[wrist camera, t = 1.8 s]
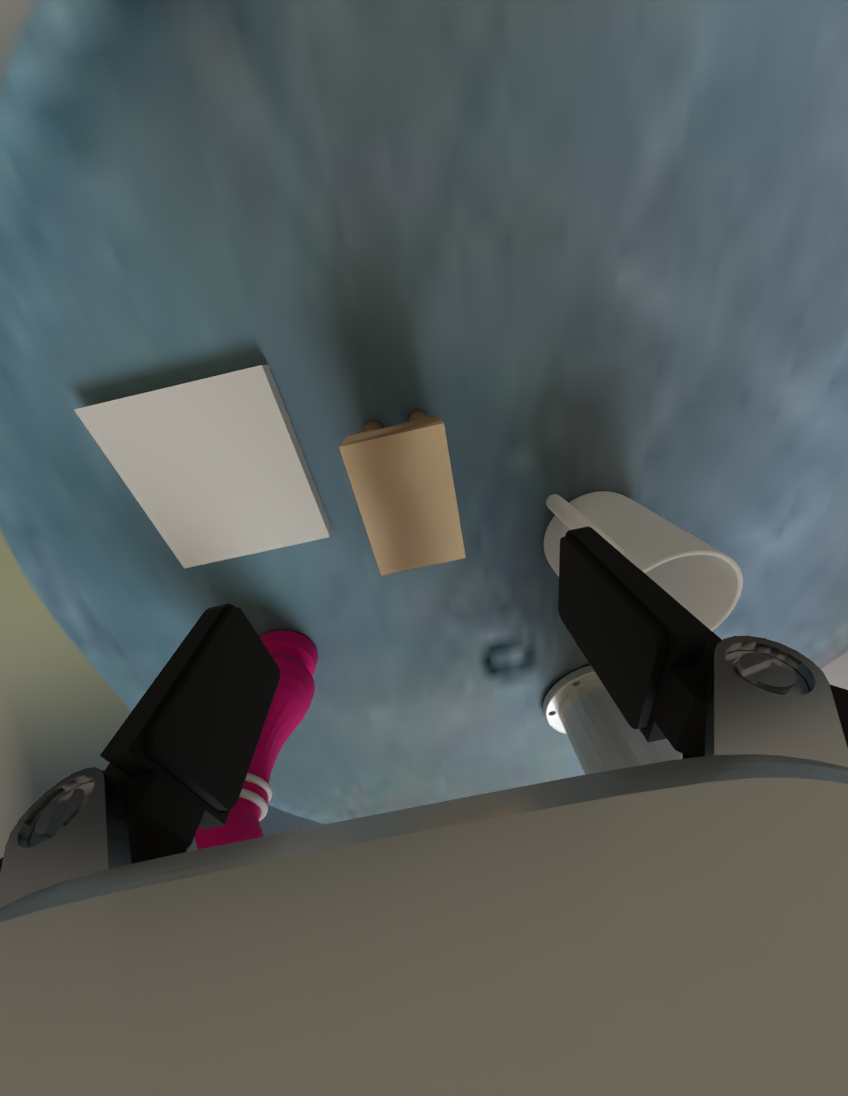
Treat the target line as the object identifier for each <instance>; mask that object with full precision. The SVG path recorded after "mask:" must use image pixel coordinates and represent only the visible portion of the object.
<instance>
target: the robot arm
mask: <svg viewBox="0 0 848 1096" xmlns="http://www.w3.org/2000/svg"><path fill="white" fill-rule="evenodd" d="M558 609H559V614H560V617H561V619H562V621H563V623H564V624H565V626H566V627H567V629H568V630H569V632H570V634H571V635H572V637H573V638H574V640H575V641H576V643H577V645H578V646H579V648H580V649H581V651H582V652H583V654H584V655H585V657H586V659H587V660H588V662H589V663H590V666H586V667H583V668H580V669H578V670H576V671H574V672H572V673H570V674H568V675H567V676H565V677H563V678H562V679H561V680H559V681H558V682H557V683H556V684H555V685H554V686H553V687H552V688H551V689H550V690H549V692H548V693H547V695H546V697H545V699H544V702H543V712H544V715H545V717H546V720H547V722H548V724H549V725H550V726H551V727H552V728H554V729H556V730H557V731H560V732H562V733H565V734H567V735H568V738H569V740H570V742H571V744H572V746H573V749H574V751H575V753H576V755H577V757H578V760H579V762H580V764H581V766H582V768H583V770H584V773H585V775H581V776H576V777H571V778H565V779H560V780H555V781H550V782H544V783H539V784H534V785H528V786H523V787H518V788H512V789H507V790H502V791H496V792H491V793H486V794H481V795H475V796H470V797H465V798H459V799H454V800H449V801H444V802H439V803H433V804H428V805H423V806H418V807H413V808H407V809H402V810H397V811H392V812H387V813H382V814H376V815H371V816H366V817H361V818H356V819H351V820H346V821H340V822H335V823H330V824H325V825H320V826H315V827H310V828H304V829H299V830H295V831H289V832H285V833H279V834H275V835H270V836H265V837H259V838H254V839H249V840H244V841H239V842H234V843H229V844H224V845H219V846H214V847H209V848H204V849H199V850H198V849H197V845H196V842H195V838H194V836H195V834H196V831H197V829H198V826H199V827H200V828H202V829H208V828H213V827H218V826H224V825H225V824H226V821H227V818H228V815H229V813H230V810H231V809H232V808H233V807H234V806H235V805H236V803H237V801H238V799H239V796H240V793H241V791H242V788H243V785H244V782H245V779H246V776H247V773H248V770H249V767H250V764H251V761H252V759H253V756H254V753H255V750H256V747H257V744H258V741H259V738H260V735H261V732H262V729H263V727H264V724H265V721H266V718H267V715H268V712H269V709H270V706H271V703H272V700H273V697H274V695H275V692H276V689H277V686H278V683H279V680H280V669H279V667H278V665H277V663H276V662H275V660H274V659H273V657H272V656H271V654H270V653H269V651H268V650H267V648H266V647H265V645H264V644H263V642H262V641H261V639H260V637H259V636H258V634H257V633H256V631H255V630H254V628H253V627H252V625H251V624H250V622H249V621H248V619H247V618H246V616H245V615H244V613H243V612H242V610H241V609H240V608H238V607H235V606H233V605H232V604H225V605H221V606H216V607H211V608H208V609H207V610H206V611H205V612H204V613H203V614H202V616H201V617H200V619H199V620H198V621H197V623H196V624H195V625H194V627H193V628H192V630H191V631H190V632H189V634H188V635H187V636H186V638H185V639H184V641H183V642H182V643H181V645H180V646H179V647H178V649H177V650H176V652H175V653H174V654H173V656H172V657H171V658H170V660H169V661H168V663H167V664H166V665H165V667H164V668H163V669H162V671H161V672H160V674H159V675H158V676H157V678H156V679H155V680H154V682H153V683H152V685H151V686H150V687H149V689H148V690H147V691H146V693H145V694H144V696H143V697H142V698H141V700H140V701H139V703H138V704H137V705H136V707H135V708H134V709H133V711H132V712H131V714H130V715H129V716H128V718H127V719H126V720H125V722H124V723H123V725H122V726H121V727H120V729H119V730H118V731H117V733H116V734H115V736H114V737H113V738H112V740H111V741H110V742H109V744H108V745H107V747H106V748H105V750H104V751H103V752H102V754H101V755H100V756H101V757H103V758H105V759H106V760H107V761H109V762H110V764H109V765H108V767H107V768H106V769H105V771H103V770H101V769H99V768H97V767H90V768H84V769H82V770H80V771H77V772H74V773H72V774H71V775H69V776H67V777H66V778H64V779H62V780H61V781H59V782H58V783H56V784H55V785H54V786H53V787H51V788H50V789H49V790H47V791H46V792H45V793H44V794H43V795H42V796H41V797H40V798H38V800H36V801H35V802H34V803H33V804H32V805H31V806H30V807H29V809H28V810H27V811H26V812H25V813H24V815H23V816H22V817H21V818H20V819H19V821H18V822H17V824H16V825H15V827H14V828H13V830H12V832H11V833H10V836H9V838H8V841H7V844H6V847H5V852H4V857H3V858H1V859H0V1096H848V690H846V689H842V688H839V687H836V686H833V685H830V684H829V682H828V680H827V678H826V676H825V675H824V673H823V671H822V670H821V669H820V668H819V667H818V666H817V665H815V664H814V663H813V662H812V661H811V660H810V659H808V658H807V657H805V656H804V655H802V654H801V653H799V652H798V651H796V650H794V649H791V648H789V647H787V646H785V645H783V644H781V643H778V642H774V641H771V640H768V639H765V638H759V637H753V636H733V637H729V638H726V639H723V640H721V639H720V638H719V637H718V636H717V635H716V634H714V633H713V632H712V631H711V630H710V629H709V628H708V627H706V626H705V625H704V624H703V623H702V622H701V621H699V620H698V619H697V618H696V617H695V616H694V615H692V614H691V613H690V612H689V611H688V610H687V609H686V608H684V607H683V606H682V605H681V604H680V603H679V602H677V601H676V600H675V599H674V598H673V597H672V596H671V595H669V594H668V593H667V592H666V591H665V590H664V589H662V588H661V587H660V586H659V585H658V584H657V583H656V582H654V581H653V580H652V579H651V578H650V577H649V576H647V575H646V574H645V573H644V572H643V571H642V570H640V569H639V568H638V567H637V566H635V565H634V564H633V563H632V562H631V561H630V560H628V559H627V558H626V557H625V556H624V555H623V554H622V553H620V552H619V551H618V550H617V549H616V548H615V547H613V546H612V545H611V544H610V543H609V542H608V541H607V540H605V539H604V538H603V537H602V536H601V535H600V534H598V533H597V532H596V531H595V530H594V529H593V528H591V527H590V526H587V527H582V528H578V529H573V530H568V531H567V532H566V535H565V537H562V538H561V539H560V557H559V603H558Z"/></svg>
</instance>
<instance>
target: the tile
mask: <svg viewBox="0 0 848 1096" xmlns="http://www.w3.org/2000/svg"><path fill="white" fill-rule="evenodd" d="M74 410H75V412H76V413H77V415H78V416H79V418H80V419H81V421H82V422H83V423H84V425H85V426H86V428H87V429H88V431H89V432H90V433H91V435H92V436H93V438H94V439H95V441H96V442H97V444H98V445H99V446H100V448H101V449H102V451H103V452H104V454H105V455H106V457H107V458H108V459H109V461H110V462H111V464H112V465H113V467H114V468H115V469H116V471H117V472H118V474H119V475H120V477H121V478H122V480H123V481H124V482H125V484H126V485H127V487H128V488H129V490H130V491H131V493H132V494H133V495H134V497H135V498H136V500H137V501H138V503H139V504H140V505H141V507H142V508H143V510H144V511H145V513H146V514H147V516H148V517H149V518H150V520H151V521H152V523H153V524H154V526H155V527H156V528H157V530H158V531H159V533H160V534H161V536H162V537H163V539H164V540H165V541H166V543H167V544H168V546H169V547H170V549H171V550H172V552H173V553H174V554H175V556H176V557H177V559H178V560H179V562H180V563H181V564H182V566H183V567H184V568H189V567H194V566H198V565H203V564H208V563H212V562H217V561H222V560H226V559H231V558H235V557H240V556H245V555H249V554H254V553H259V552H263V551H268V550H272V549H277V548H282V547H286V546H291V545H296V544H300V543H305V542H310V541H314V540H319V539H323V538H328V537H330V536H331V533H332V528H331V525H330V522H329V520H328V517H327V515H326V512H325V509H324V507H323V504H322V502H321V499H320V497H319V494H318V491H317V489H316V486H315V484H314V481H313V478H312V476H311V473H310V471H309V468H308V466H307V463H306V460H305V458H304V455H303V453H302V450H301V448H300V445H299V442H298V440H297V437H296V435H295V432H294V429H293V427H292V424H291V422H290V419H289V417H288V414H287V411H286V409H285V406H284V404H283V401H282V398H281V396H280V393H279V391H278V388H277V386H276V383H275V380H274V378H273V375H272V373H271V370H270V368H269V365H260V366H255V367H251V368H247V369H243V370H238V371H234V372H230V373H226V374H222V375H217V376H213V377H209V378H205V379H201V380H196V381H192V382H188V383H184V384H180V385H175V386H171V387H167V388H163V389H158V390H154V391H150V392H146V393H142V394H137V395H133V396H129V397H125V398H121V399H116V400H112V401H108V402H104V403H99V404H95V405H91V406H87V407H83V408H78V409H74Z"/></svg>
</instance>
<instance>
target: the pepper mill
mask: <svg viewBox="0 0 848 1096" xmlns="http://www.w3.org/2000/svg"><path fill="white" fill-rule="evenodd" d="M260 639H261V641H262V642H263V644H264V645H265V647H266V648H267V650H268V651H269V653H270V654H271V656H272V657H273V659H274V660H275V662H276V663H277V665H278V667H279V669H280V680H279V683H278V686H277V689H276V692H275V695H274V697H273V700H272V703H271V706H270V709H269V712H268V715H267V718H266V721H265V724H264V727H263V729H262V732H261V735H260V738H259V741H258V744H257V747H256V750H255V753H254V756H253V759H252V761H251V764H250V767H249V770H248V773H247V776H246V779H245V782H244V785H243V788H242V791H241V793H240V796H239V799H238V801H237V803H236V805H235V806H234V807H233V808H232V809H231V810H230V813H229V815H228V818H227V821H226V824H225V825H224V826H218V827H213V828H208V829H202V828H200V827H199V826H198V829H197V831H196V834H195V836H194V838H195V842H196V845H197V849H198V850H199V849H204V848H209V847H214V846H219V845H224V844H229V843H234V842H239V841H244V840H249V839H254V838H259V837H264V836H263V833H262V829H261V827H260V824H259V821H260V820H262V819H263V818H264V817H265V816H266V813H267V811H268V802H269V801H270V799H271V797H272V788H271V786H270V785H269V780H270V775H271V771H272V768H273V766H274V763H275V760H276V758H277V755H278V753H279V752H280V750H281V748H282V746H283V744H284V743H285V742H286V740H287V739H288V737H289V736H290V735H291V734H292V732H293V731H294V730H295V728H296V727H297V726H298V724H299V723H300V722H301V721H302V719H303V717H304V715H305V714H306V712H307V710H308V709H309V707H310V704H311V701H312V698H313V695H314V689H315V686H314V680H313V678H312V675H313V673H314V670H315V667H316V663H317V659H318V653H317V649H316V647H315V645H314V644H313V643H312V642H311V641H310V640H309V639H308V638H307V637H305V636H303V635H301V634H299V633H296V632H292V631H285V630H280V631H272V632H269V633H266V634H264V635H262V636H261V637H260Z"/></svg>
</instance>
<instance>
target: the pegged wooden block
mask: <svg viewBox="0 0 848 1096" xmlns="http://www.w3.org/2000/svg"><path fill="white" fill-rule="evenodd" d="M408 421H409V422H407V423H402V424H398V425H394V426H389V427H385V428H384V427H383V425H382V424H381V423H380V422H379V421H377V420H370V421H368V422H367V423H366V424H365V426H364V428H363V430H362V432H361V433H358V434H354V435H349V436H346V437H345V439H344V440H343V442H342V443H341V445H340V446H339V449H340V452H341V455H342V458H343V461H344V464H345V467H346V470H347V473H348V476H349V479H350V482H351V485H352V488H353V491H354V494H355V497H356V501H357V504H358V507H359V510H360V513H361V516H362V519H363V522H364V525H365V528H366V531H367V534H368V537H369V540H370V543H371V546H372V549H373V552H374V555H375V558H376V561H377V564H378V568H379V571H380V574H381V576H383V575H387V574H392V573H397V572H402V571H406V570H411V569H416V568H421V567H425V566H430V565H435V564H440V563H445V562H449V561H454V560H459V559H464V558H466V557H465V550H464V544H463V538H462V532H461V526H460V519H459V513H458V507H457V501H456V495H455V488H454V482H453V476H452V470H451V464H450V457H449V451H448V445H447V439H446V433H445V426H444V423H443V421H442V420H441V419H440V417H439V416H433V417H428V416H427V414H426V413H425V412H424V411H423V410H420V409H417V410H414V411H412V412H411V414H410V415H409V419H408Z"/></svg>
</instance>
